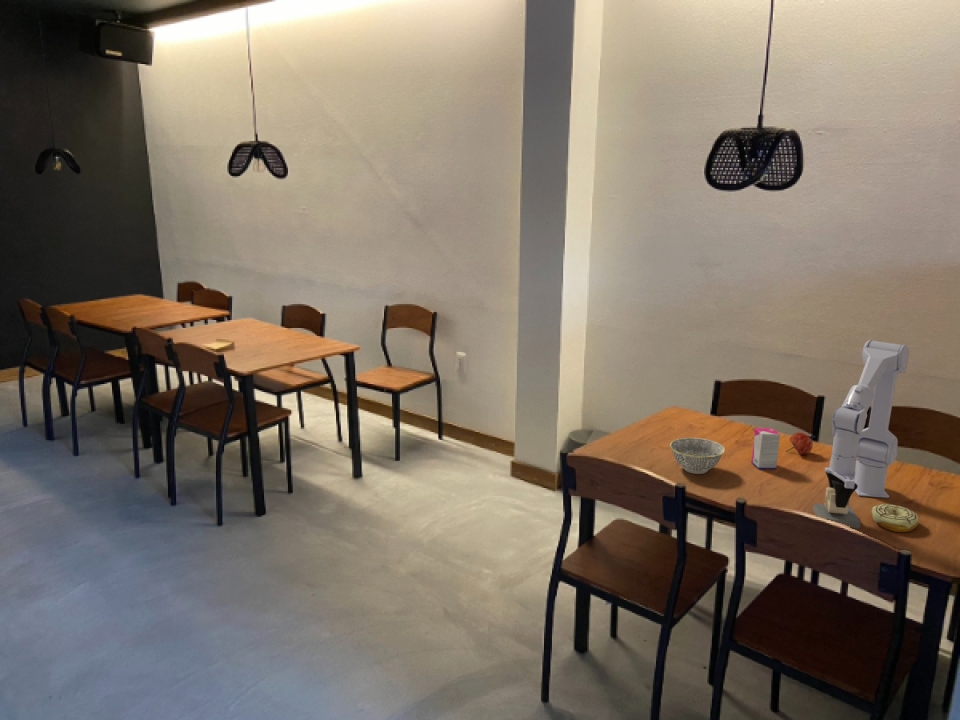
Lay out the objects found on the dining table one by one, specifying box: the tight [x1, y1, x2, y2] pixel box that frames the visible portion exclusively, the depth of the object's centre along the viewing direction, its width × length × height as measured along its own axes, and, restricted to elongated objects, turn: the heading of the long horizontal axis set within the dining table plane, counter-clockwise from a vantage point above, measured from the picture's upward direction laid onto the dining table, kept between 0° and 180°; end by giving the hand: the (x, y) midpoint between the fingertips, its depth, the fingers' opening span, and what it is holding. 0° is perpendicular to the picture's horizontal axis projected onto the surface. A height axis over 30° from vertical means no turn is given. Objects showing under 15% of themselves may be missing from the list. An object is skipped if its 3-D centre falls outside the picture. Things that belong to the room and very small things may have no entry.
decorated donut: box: [871, 503, 920, 533], centre depth 183 cm, size 10×11×4 cm
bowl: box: [669, 437, 726, 475], centre depth 217 cm, size 16×16×8 cm
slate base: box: [812, 502, 862, 530], centre depth 185 cm, size 9×9×2 cm
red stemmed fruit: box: [785, 431, 816, 456], centre depth 229 cm, size 7×7×10 cm
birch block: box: [823, 487, 851, 514], centre depth 184 cm, size 4×4×5 cm
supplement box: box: [750, 427, 781, 470], centre depth 219 cm, size 6×6×12 cm
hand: (837, 502), depth 184 cm, fingers closed on birch block, 4 cm apart
